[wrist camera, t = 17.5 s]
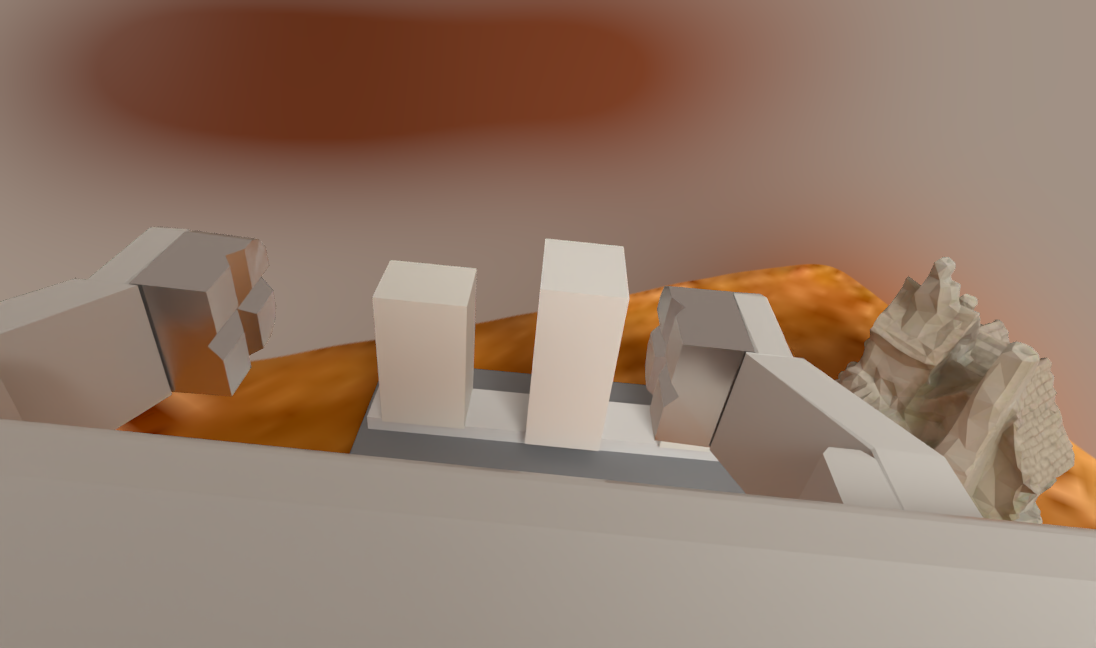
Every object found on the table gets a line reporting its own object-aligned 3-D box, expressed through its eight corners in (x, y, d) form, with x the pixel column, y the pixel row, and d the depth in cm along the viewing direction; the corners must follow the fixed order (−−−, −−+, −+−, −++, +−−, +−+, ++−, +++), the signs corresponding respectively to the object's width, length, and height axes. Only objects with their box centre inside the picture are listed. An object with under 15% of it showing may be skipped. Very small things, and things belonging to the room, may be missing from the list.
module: (524, 443, 38) (540, 289, 32) (530, 383, 43) (545, 237, 36) (598, 451, 38) (629, 298, 32) (597, 389, 43) (623, 245, 36)
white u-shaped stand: (346, 484, 37) (324, 327, 31) (388, 376, 46) (377, 233, 39) (764, 523, 38) (830, 376, 31) (730, 409, 46) (778, 273, 39)
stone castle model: (947, 583, 36) (1108, 368, 28) (769, 399, 48) (845, 217, 40) (1115, 531, 41) (1289, 340, 33) (916, 379, 54) (1008, 215, 46)
